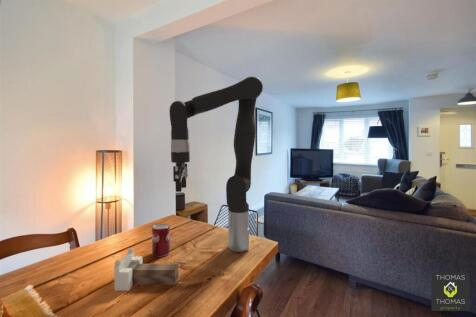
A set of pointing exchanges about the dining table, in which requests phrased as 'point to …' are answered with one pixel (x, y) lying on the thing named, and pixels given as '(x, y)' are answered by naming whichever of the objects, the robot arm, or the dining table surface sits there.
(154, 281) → the rail
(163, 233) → the soda can
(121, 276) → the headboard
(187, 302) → the dining table surface
